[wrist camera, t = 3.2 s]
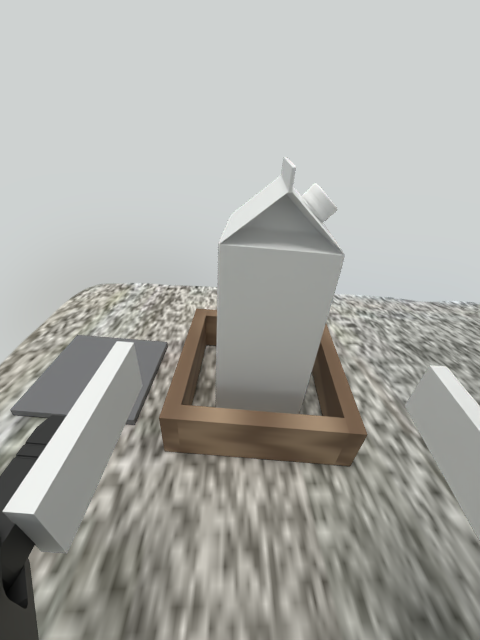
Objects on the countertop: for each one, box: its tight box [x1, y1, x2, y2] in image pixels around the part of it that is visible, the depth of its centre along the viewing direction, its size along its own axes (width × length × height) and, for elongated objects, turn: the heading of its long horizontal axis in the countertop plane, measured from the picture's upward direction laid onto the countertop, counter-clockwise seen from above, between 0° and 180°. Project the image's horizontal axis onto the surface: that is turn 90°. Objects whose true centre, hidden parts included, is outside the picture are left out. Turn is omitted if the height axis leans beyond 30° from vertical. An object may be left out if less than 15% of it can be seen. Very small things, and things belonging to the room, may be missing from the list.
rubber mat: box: [10, 335, 168, 425], centre depth 26 cm, size 10×10×1 cm
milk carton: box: [215, 157, 344, 414], centre depth 21 cm, size 7×7×19 cm
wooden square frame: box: [159, 309, 367, 466], centre depth 25 cm, size 14×15×4 cm
